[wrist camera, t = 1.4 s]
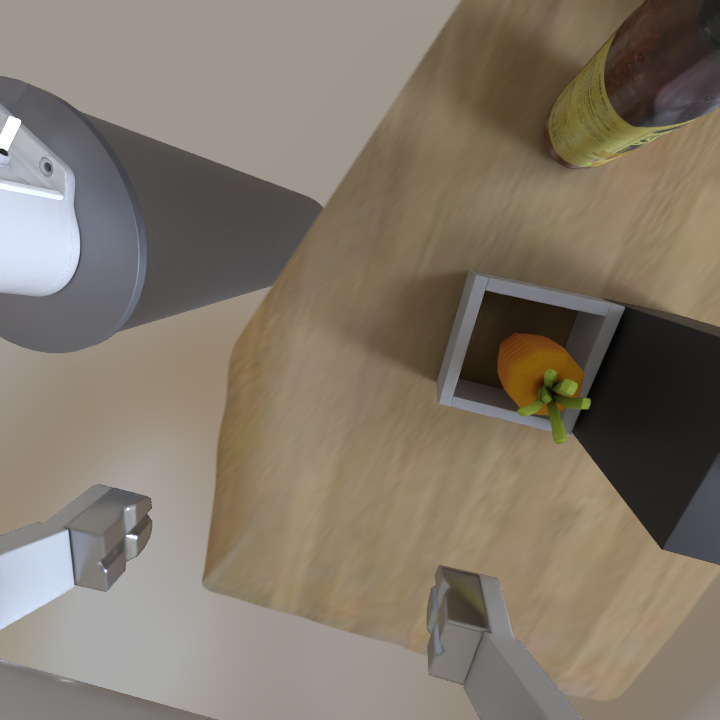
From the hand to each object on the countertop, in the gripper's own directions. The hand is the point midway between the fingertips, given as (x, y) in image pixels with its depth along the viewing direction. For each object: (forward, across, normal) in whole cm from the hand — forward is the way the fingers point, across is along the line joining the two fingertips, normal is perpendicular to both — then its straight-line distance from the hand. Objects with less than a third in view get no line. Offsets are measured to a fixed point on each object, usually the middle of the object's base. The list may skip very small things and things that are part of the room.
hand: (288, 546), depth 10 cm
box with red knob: (+27, -16, -1) cm, 31 cm away
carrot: (+27, -12, -1) cm, 30 cm away
